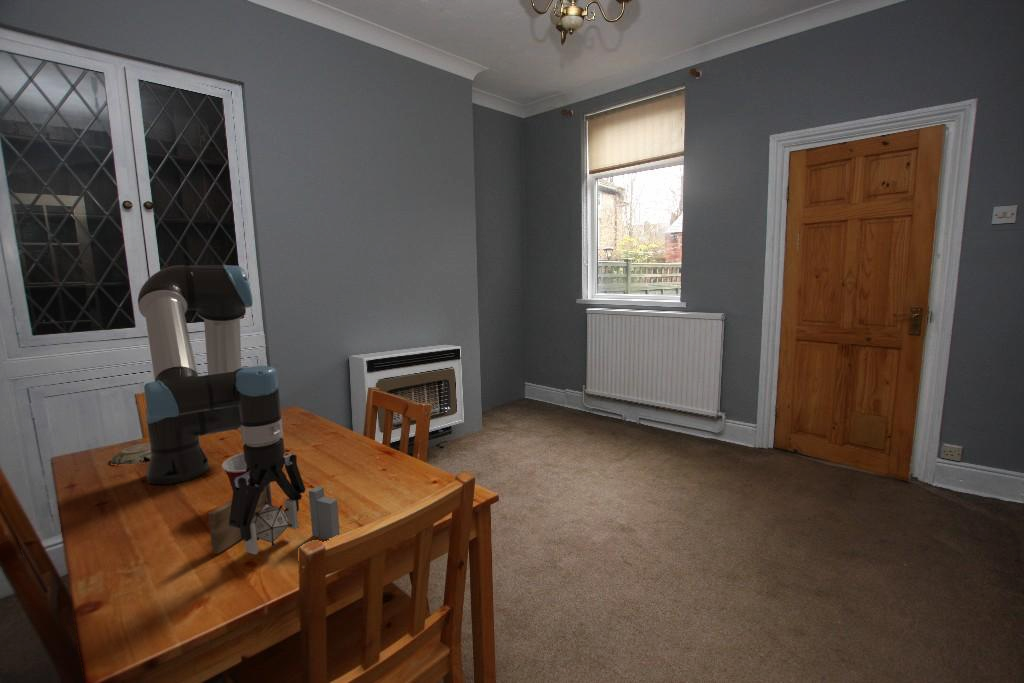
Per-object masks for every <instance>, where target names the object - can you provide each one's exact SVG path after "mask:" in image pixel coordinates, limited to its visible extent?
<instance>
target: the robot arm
mask: <svg viewBox="0 0 1024 683" xmlns="http://www.w3.org/2000/svg"><path fill="white" fill-rule="evenodd" d="M137 305H138V310H139V313H140V315H142V317H144V318H145V322H146V331H147V336H148V337H147V338H148V344H149V350H150V351H149V352H150V358H151V363H152V370H153V378H154V381H151V382H147V383H145V384H144V386H143V389H144V397H145V398H144V399H145V404H146V405H145V406H146V408H145V409H146V410H145V413H146V414H145V415H146V420H145V423H146V424H147V429H148V438H149V443H150V447H151V458H150V459H149V463H148V466H147V471H146V479H147V480H146V481H147V482H148V483H149V482H150V483H153V484H152V485H154V484H167V485H174V484H177V483H178V482H179V483H183V482H185V481H186V482H187V481H190V480H193V479H195V478H198V477H200V476H202V475H204V474H205V473H207V472H208V471H209V469H210V463H209V461H210V460H209V459H208V457H207V456H206V453H205V452H204V450H203V448H202V446H201V444H200V439H199V438H200V437H201V436H208V435H212V434H216V433H217V434H218V433H223V432H227V431H233V430H234V431H236V430H239V429H240V430H241V432H240V433H241V442H242V443H243V444H244V445H243V446H242V447H243V448H242V449H243V453H244V459H245V462H246V464H247V469H246V472H245V474H243V475H241V476H239V477H237V476H234V477H233V478H232V483H233V488H234V489H233V490H232V498H231V501H232V504H231V512H230V519H229V525H230V526H233V527H237V528H240V533H241V540H242V541H244V545H245V552H246V553H250V554H252V555H257V554H259V547H258V540H257V536H256V526H255V523H252V519H253V516H254V513H255V510H256V507H257V504H258V501H259V498H260V494H261V492H262V491H263V490H264V488H265V486H266V485H268V484H269V483H270V484H271V483H273V482H276V484H277V486H279V488H280V489H281V490H282V491H283V493H284V494H285V496H286V497H287V498H285V499H284V510H285V509H286V508H288V510H287V511H286V514H287V518H288V522H289V524H292V525H293V526H292V527H291V526H288V527H287V528H290V529H294V530H297V529H298V528H299V521H298V520H299V519H298V517H299V516H298V512H299V510H300V506H299V505H300V504H299V501H300V500H301V499H302V497H303V496H302V494H304V493H305V492H306V487H305V484H304V482H303V479H302V475H301V472H300V470H299V467H298V464H297V463H298V462H297V461H298V459H297V458H298V457H297V455H296V454H292V453H285V452H286V450H285V442H284V438H282V437H283V436H284V433H283V432H284V431H283V420H282V412H281V402H280V389H279V386H280V380H279V379H278V372H277V370H276V368H274V367H273V366H270V365H269V366H267V365H258V366H256V365H255V366H249V367H248V366H247V367H246V366H245V367H242V352H241V351H242V349H241V347H242V346H241V342H242V341H241V319H242V318H243V317H244V316H246V314H247V311H246V310H247V309H249V308H252V306H253V296H252V290H251V285H250V283H249V279H248V276H247V273H246V271H245V269H244V268H243V267H241V266H239V265H230V264H229V265H227V264H221V265H220V264H217V265H214V264H212V265H210V264H209V265H208V264H207V265H206V264H205V265H184V264H181V265H180V264H179V265H172V266H168V267H165V268H162V269H160V270H159V271H157V272H155V273H154V274H152V275H151V276H150V277H149V278H148V279H147V280H146V281H145V283H144V284H143V285H142V286H141V288H140V291H139V293H138V296H137ZM187 311H196V314H197V316H198V317H199V318H201V319H202V320H204V321H203V323H204V339H205V349H206V350H205V352H206V366H207V368H206V369H207V374H205V375H198V369H197V366H196V365H197V364H196V361H195V356H194V353H193V347H192V344H191V338H190V333H189V330H188V329H189V328H188V325H187V324H188V323H187V319H186V316H185V315H186V313H187ZM284 467H285V471H286V473H285V472H284V470H283V469H284ZM287 477H288V478H287ZM248 479H250V481H249V482H248ZM182 481H183V482H182ZM150 483H149V484H150ZM173 483H174V484H173ZM255 484H256V485H258V487H257V486H255ZM247 485H248V487H247ZM247 488H248V492H247ZM245 518H246V519H245Z"/></svg>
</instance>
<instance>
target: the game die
mask: <svg viewBox="0 0 1024 683" xmlns="http://www.w3.org/2000/svg"><path fill="white" fill-rule="evenodd" d="M267 503H268V502H267V501H266V500H265V505H264V506H263V507H262V508H261V509H260V510H259V511H258V512H255V515H254V516H253V519H252V523H255V526H256V536H257V541H259V540H262V541H265V542H268V543H271V547H274V546H275V541H276V540H277V539H278V538H279V537H280V536H281V535H282V534H284V531H286V530H287V528H289V527H288V526H291V527H292V526H293V525H292V524H289V522H288V518H287V514H286V511H287V510H288V508H286V509H285V508H283V504H282V505H279V506H276V505H273V504H272V505H269V504H267Z"/></svg>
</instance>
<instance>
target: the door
mask: <svg viewBox="0 0 1024 683" xmlns="http://www.w3.org/2000/svg"><path fill="white" fill-rule="evenodd" d="M271 489H272V488H271V482H270V483H269V484H268V485H266V486H265V488H264V490H263V491H262V492H261V494H260V498H259V501H258V504H257V507H256V510H255V512H258V511H259V510H260V509H261V508H262V507H263V506H264V505H265V500H266V501H267V502H268V503H267V504H269V505H272V506H273V503H272V492H271V491H272V490H271ZM231 504H232V500H230V501H228V502H227V503H224V504H222V505H221V506H219V507H216V508H215V509H213V510H211V511H210V512H208V513H207V514H208V524H209V532H210V539H211V547H212V553H214V554H217V555H218V554H220V553H222V552H224V551H225V550H227V549H228V548H230V547H232V546H233V545H235V544H236V543H238V542H239V541H241V540H242V539H241V533H240V528H237V527H233V526H230V525H229V519H230V512H231ZM254 515H255V513H254ZM245 519H246V518H245Z"/></svg>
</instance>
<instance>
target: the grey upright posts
mask: <svg viewBox="0 0 1024 683" xmlns="http://www.w3.org/2000/svg"><path fill="white" fill-rule="evenodd" d="M255 486H257V487H258V485H256V484H255ZM308 498H309V510H310V512H309V513H310V521H311V522H310V524H311V533H312V534H311V535H312V537H314V536H317V537H319V538H318V539H323V540H327V539H329V538H332V537H334V536H336V535H339V534H340V533H341V532H340V522H339V508H338V507H339V506H338V499H336V498H331V497H328V496H325V489H324V487H322V486H319V485H317V486H315V487H313V488H311V489H309V490H308ZM317 537H316V538H317Z"/></svg>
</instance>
